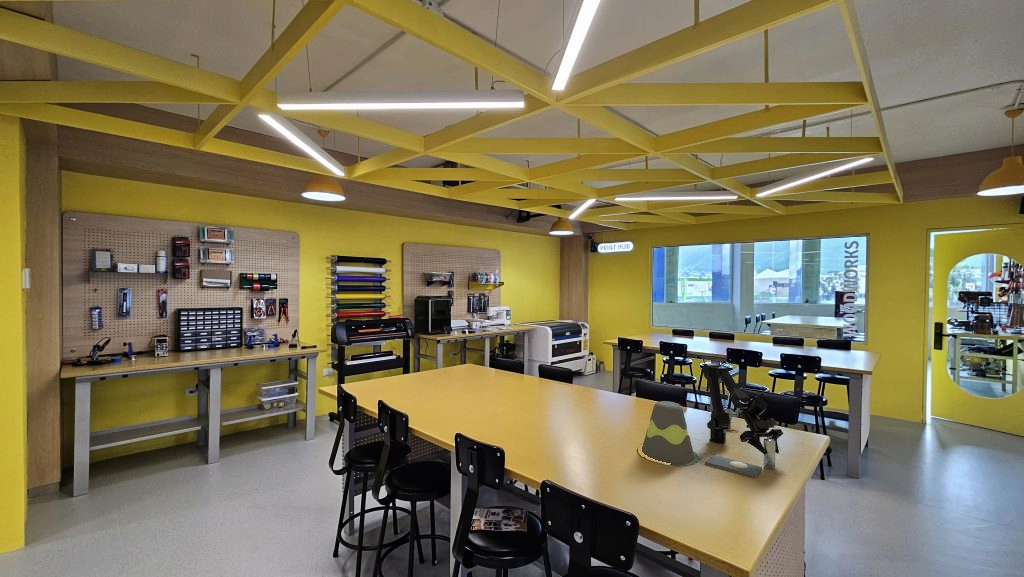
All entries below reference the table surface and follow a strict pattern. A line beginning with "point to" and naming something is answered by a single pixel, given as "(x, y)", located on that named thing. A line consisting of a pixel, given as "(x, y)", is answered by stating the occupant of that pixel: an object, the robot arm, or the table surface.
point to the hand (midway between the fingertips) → (772, 453)
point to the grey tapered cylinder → (669, 436)
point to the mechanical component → (731, 414)
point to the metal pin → (769, 454)
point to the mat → (733, 466)
